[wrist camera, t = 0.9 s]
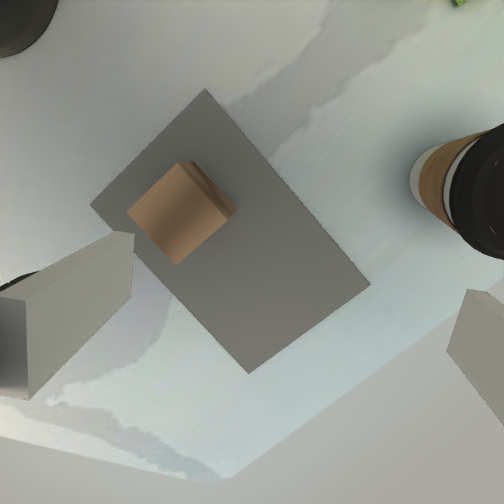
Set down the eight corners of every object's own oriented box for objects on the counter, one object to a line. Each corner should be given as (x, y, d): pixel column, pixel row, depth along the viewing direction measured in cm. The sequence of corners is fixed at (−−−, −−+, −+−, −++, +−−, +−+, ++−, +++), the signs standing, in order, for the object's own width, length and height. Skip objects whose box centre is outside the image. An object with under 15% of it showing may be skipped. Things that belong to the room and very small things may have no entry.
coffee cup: (460, 238, 35) (577, 297, 21) (377, 202, 35) (438, 236, 21) (512, 152, 33) (682, 152, 19) (423, 113, 33) (526, 83, 19)
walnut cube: (151, 202, 37) (125, 212, 31) (195, 160, 36) (176, 162, 30) (193, 248, 38) (175, 265, 32) (237, 209, 37) (227, 220, 31)
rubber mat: (91, 204, 38) (89, 204, 38) (205, 89, 34) (204, 88, 34) (248, 372, 41) (248, 374, 41) (369, 283, 37) (370, 284, 37)
